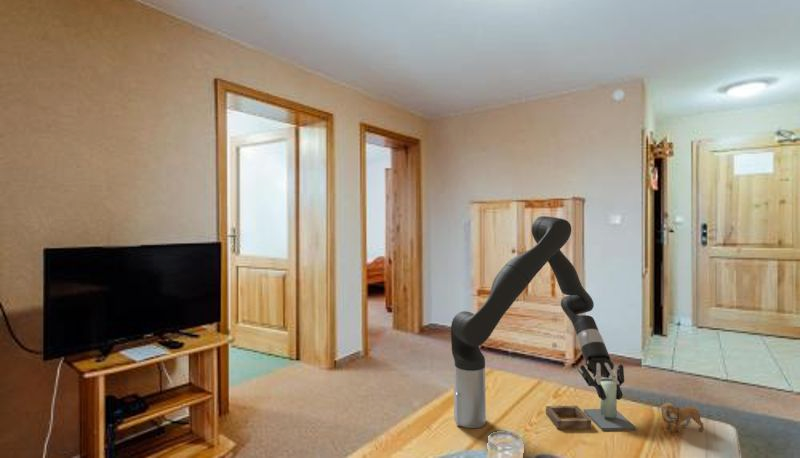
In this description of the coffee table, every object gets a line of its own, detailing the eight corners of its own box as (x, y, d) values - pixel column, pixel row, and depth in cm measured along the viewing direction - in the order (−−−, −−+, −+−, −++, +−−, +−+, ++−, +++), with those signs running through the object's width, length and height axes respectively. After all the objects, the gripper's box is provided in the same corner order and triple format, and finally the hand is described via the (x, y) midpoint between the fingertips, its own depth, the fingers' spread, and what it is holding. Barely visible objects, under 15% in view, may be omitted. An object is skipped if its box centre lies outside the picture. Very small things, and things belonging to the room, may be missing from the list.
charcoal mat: (602, 430, 120) (602, 428, 120) (583, 411, 132) (583, 409, 132) (636, 430, 120) (636, 427, 120) (614, 411, 132) (614, 408, 132)
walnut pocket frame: (558, 429, 121) (557, 421, 121) (545, 413, 131) (545, 406, 131) (591, 428, 121) (591, 420, 121) (576, 413, 131) (576, 405, 131)
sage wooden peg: (604, 417, 124) (604, 384, 124) (597, 410, 128) (597, 378, 128) (619, 417, 124) (619, 384, 124) (611, 410, 128) (611, 378, 128)
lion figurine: (673, 440, 114) (673, 408, 114) (655, 431, 119) (655, 400, 119) (709, 430, 119) (709, 399, 119) (690, 422, 124) (690, 392, 124)
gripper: (574, 341, 133) (592, 394, 121) (618, 340, 133) (640, 393, 121) (567, 352, 139) (584, 404, 127) (610, 351, 139) (630, 403, 127)
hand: (611, 398), depth 124 cm, fingers closed on sage wooden peg, 4 cm apart
